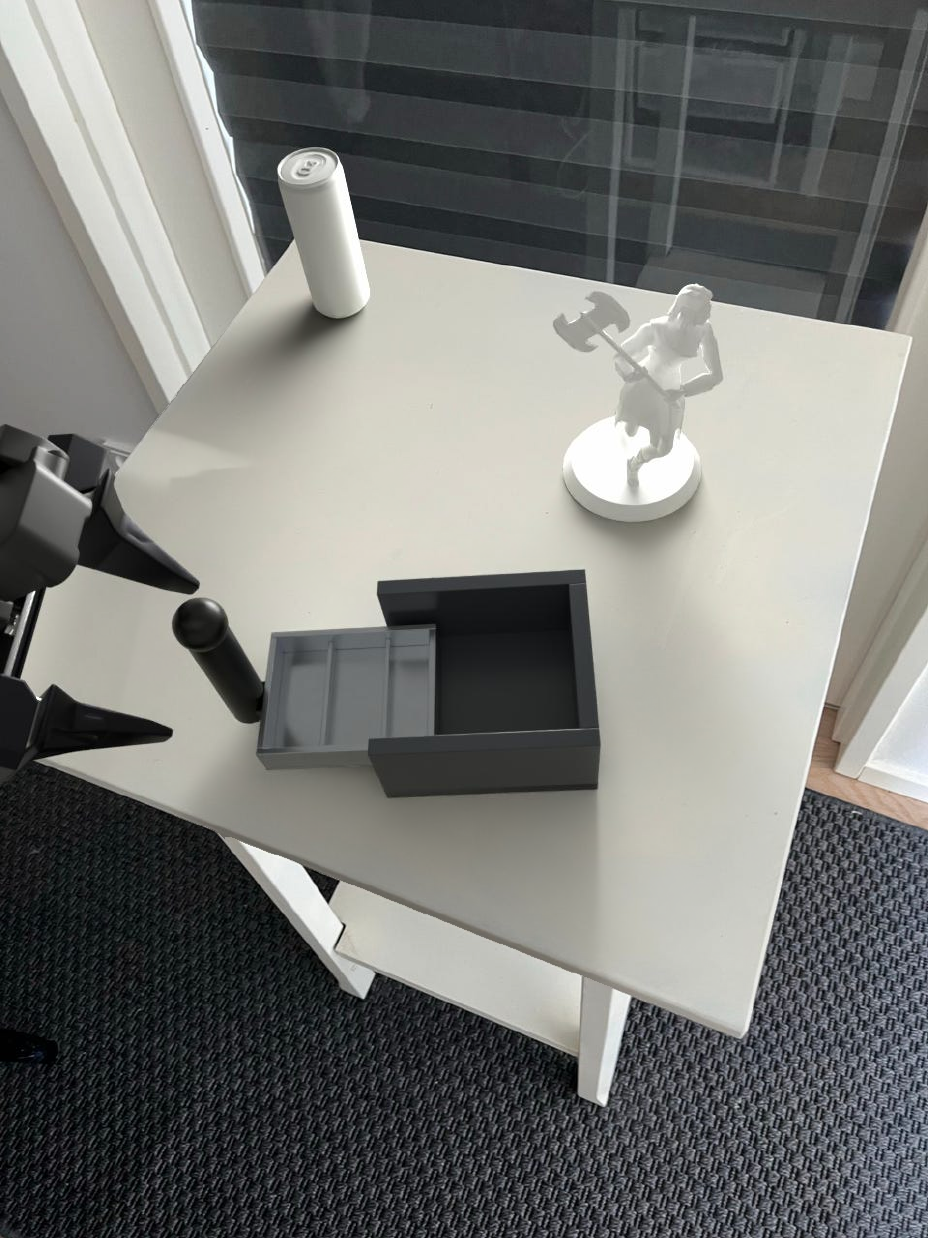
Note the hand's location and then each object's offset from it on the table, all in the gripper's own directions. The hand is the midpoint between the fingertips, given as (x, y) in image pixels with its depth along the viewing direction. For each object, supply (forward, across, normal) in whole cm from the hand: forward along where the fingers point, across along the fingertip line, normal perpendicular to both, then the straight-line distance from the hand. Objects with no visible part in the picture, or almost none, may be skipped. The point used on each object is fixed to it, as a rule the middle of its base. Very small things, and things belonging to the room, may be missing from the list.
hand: (183, 658), depth 51 cm
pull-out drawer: (+9, 0, -1) cm, 9 cm away
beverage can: (+9, +38, +2) cm, 39 cm away
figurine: (+24, +18, -13) cm, 33 cm away
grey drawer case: (+17, 0, -6) cm, 18 cm away
